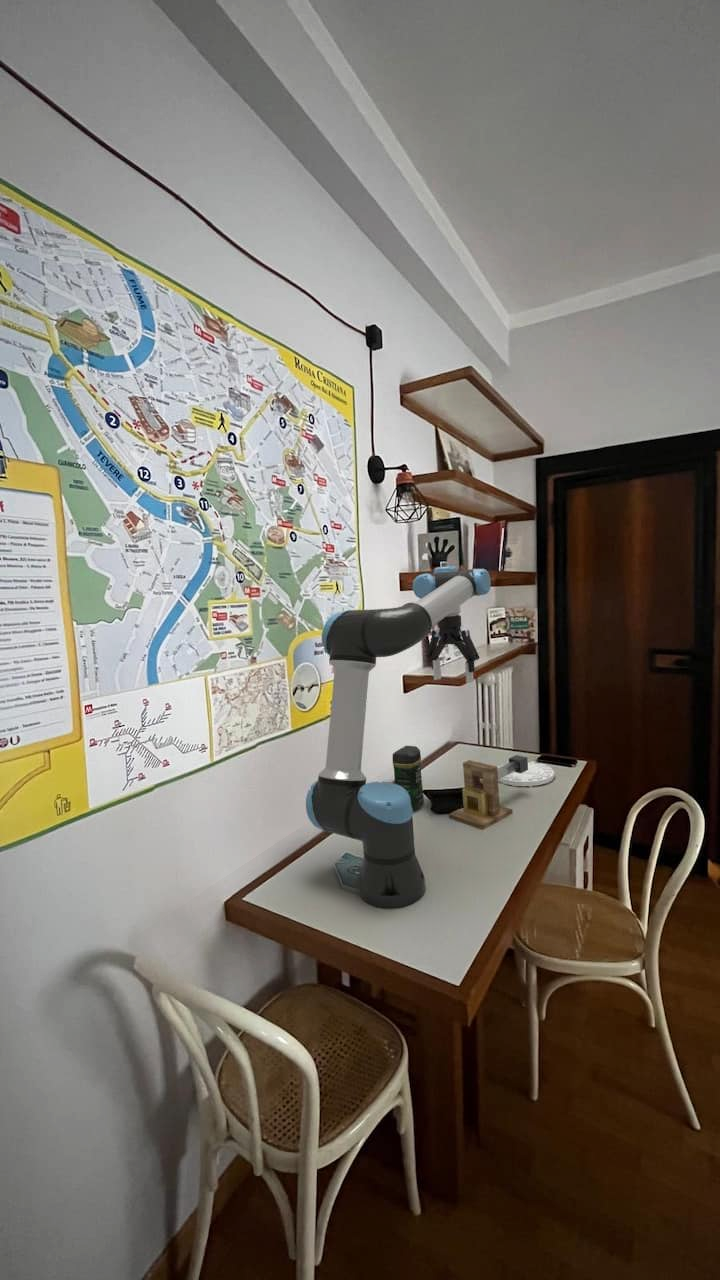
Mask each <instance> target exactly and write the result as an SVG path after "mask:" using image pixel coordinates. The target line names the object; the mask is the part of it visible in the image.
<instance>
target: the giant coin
mask: <svg viewBox="0 0 720 1280" xmlns="http://www.w3.org/2000/svg"><path fill="white" fill-rule="evenodd" d="M503 765H504V764H502V765H499V766H497V768H499V767H501V766H503ZM555 777H556V776H555V771H554V770H553V768H552V767H550V766H548V765H547V764H545V763H536V762H535V761H530V762H528V770H527V771H525V772H523V773H517V772H513V773H511V774H508V775H506V776H504V777H502V778H500V779H498V783H499V782H500V784H503V785H509V786H511V785H512V786H511V787H516V786H517V787H516V788H519V787H520V786H521V787H525V786H540V785H546V784H549V783H550V782H553V780H554V778H555ZM518 786H519V787H518Z"/></svg>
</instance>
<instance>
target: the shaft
mask: <svg viewBox="0 0 720 1280" xmlns="http://www.w3.org/2000/svg"><path fill="white" fill-rule="evenodd" d="M528 760H529V759H528V757H526V756H521V755H517V754H516V755H513V756H511V757H509V758H508V762H507V763H505V764H502V765H503V766H501V765H500V766H501V767H499V766H498V767H499V768H497V771H498V779H500V778H502V777H504V776H506V775H508V774H511V773H513V772H517V773H523V772H525V771H527V770H528V763H529V761H528ZM477 783H478V785H479V786H481V787H482V786H483V777H479V776H478V777H477Z"/></svg>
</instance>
